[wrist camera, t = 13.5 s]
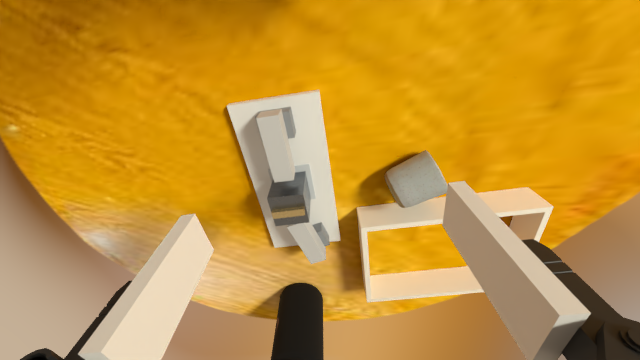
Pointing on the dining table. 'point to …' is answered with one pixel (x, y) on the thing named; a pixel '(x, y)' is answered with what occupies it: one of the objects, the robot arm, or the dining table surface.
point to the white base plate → (290, 163)
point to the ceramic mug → (416, 180)
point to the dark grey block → (290, 200)
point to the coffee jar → (299, 324)
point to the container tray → (449, 281)
